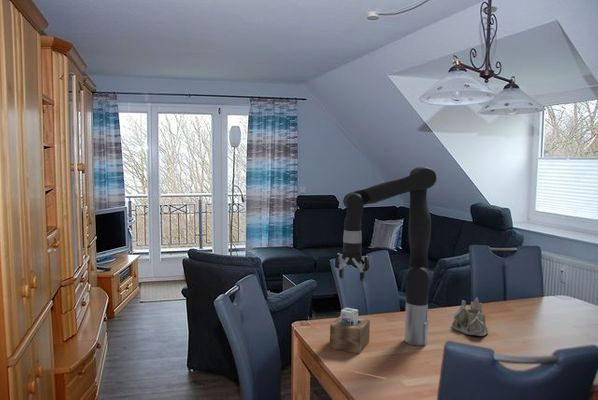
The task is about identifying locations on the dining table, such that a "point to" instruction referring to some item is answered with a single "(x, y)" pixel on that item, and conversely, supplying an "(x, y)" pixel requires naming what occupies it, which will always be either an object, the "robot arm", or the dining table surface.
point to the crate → (349, 335)
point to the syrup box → (349, 316)
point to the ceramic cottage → (470, 319)
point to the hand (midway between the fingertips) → (351, 279)
